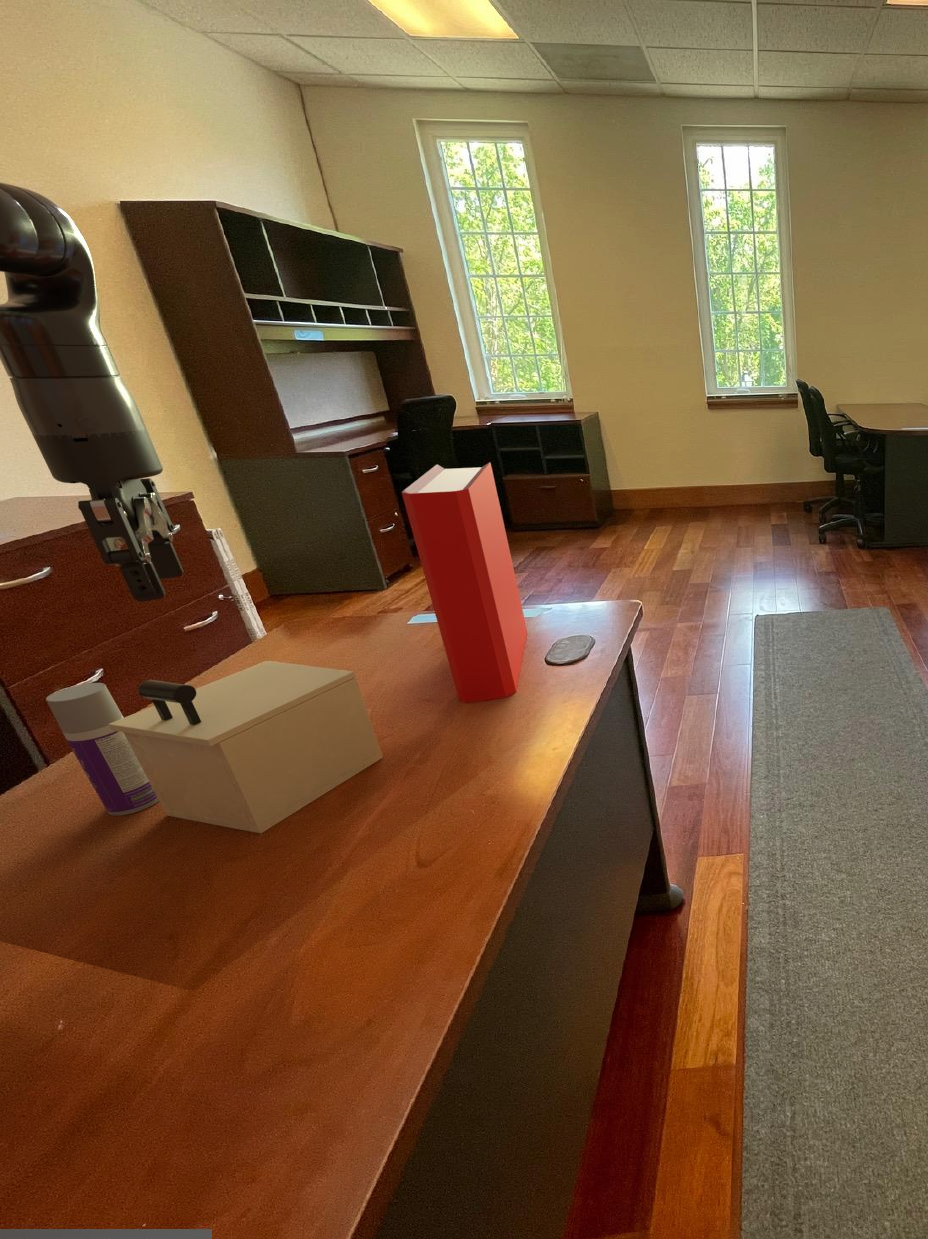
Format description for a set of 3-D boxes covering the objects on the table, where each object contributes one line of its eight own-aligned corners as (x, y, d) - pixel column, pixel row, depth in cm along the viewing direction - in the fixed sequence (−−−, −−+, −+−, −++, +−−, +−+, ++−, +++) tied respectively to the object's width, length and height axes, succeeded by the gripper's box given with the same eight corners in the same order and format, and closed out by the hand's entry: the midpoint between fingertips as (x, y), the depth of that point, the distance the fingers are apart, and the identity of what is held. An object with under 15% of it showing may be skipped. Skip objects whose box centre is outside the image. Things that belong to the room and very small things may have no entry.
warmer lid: (210, 746, 69) (189, 700, 66) (110, 730, 71) (87, 685, 69) (356, 677, 83) (342, 637, 81) (268, 665, 86) (253, 627, 84)
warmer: (260, 833, 74) (219, 743, 69) (166, 815, 77) (120, 727, 72) (383, 757, 88) (356, 677, 83) (300, 744, 91) (268, 666, 86)
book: (480, 638, 125) (437, 464, 112) (527, 632, 127) (490, 462, 114) (457, 704, 101) (399, 494, 88) (515, 695, 104) (467, 490, 91)
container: (97, 812, 77) (32, 699, 71) (145, 788, 81) (88, 680, 75) (126, 818, 76) (63, 704, 70) (173, 794, 80) (118, 684, 74)
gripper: (59, 423, 67) (131, 576, 74) (-1, 437, 56) (89, 615, 63) (161, 419, 71) (220, 565, 78) (123, 432, 60) (195, 600, 67)
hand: (161, 587), depth 70 cm, fingers open, 8 cm apart
